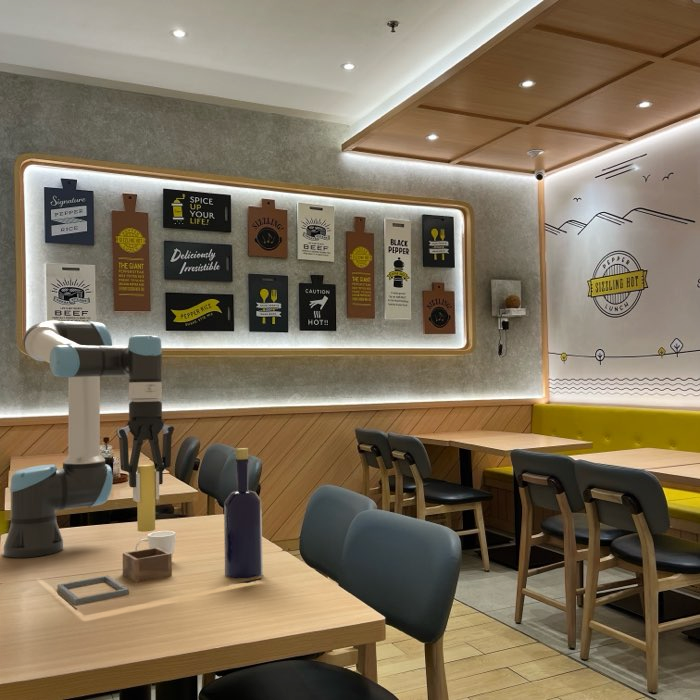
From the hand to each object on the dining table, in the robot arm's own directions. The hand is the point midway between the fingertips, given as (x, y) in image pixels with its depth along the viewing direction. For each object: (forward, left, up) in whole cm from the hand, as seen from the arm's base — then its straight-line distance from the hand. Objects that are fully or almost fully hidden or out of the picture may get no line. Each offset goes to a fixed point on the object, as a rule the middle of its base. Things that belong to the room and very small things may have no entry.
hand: (146, 499), depth 165 cm
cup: (-10, +6, -19) cm, 22 cm away
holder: (0, 0, -19) cm, 19 cm away
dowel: (0, 0, -7) cm, 7 cm away
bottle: (+14, +18, -19) cm, 30 cm away
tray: (+5, -14, -19) cm, 24 cm away
